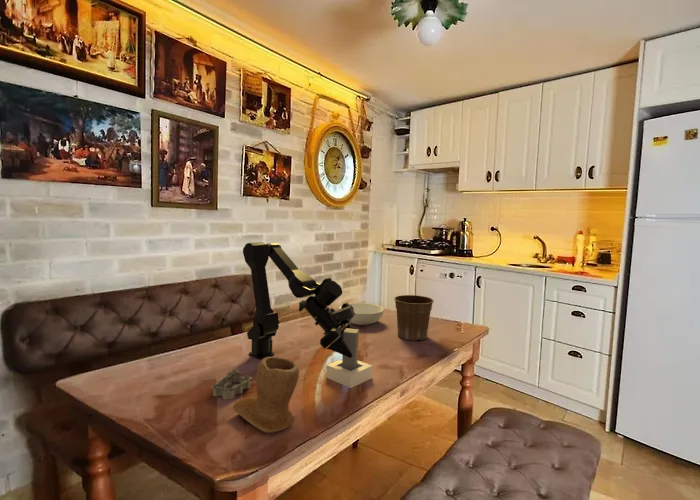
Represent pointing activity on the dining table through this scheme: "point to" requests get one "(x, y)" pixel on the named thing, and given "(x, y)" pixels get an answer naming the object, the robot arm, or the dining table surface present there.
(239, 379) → the egg carton
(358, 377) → the collar
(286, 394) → the tan boot
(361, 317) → the serving bowl
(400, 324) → the plant pot
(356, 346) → the post
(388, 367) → the dining table surface
